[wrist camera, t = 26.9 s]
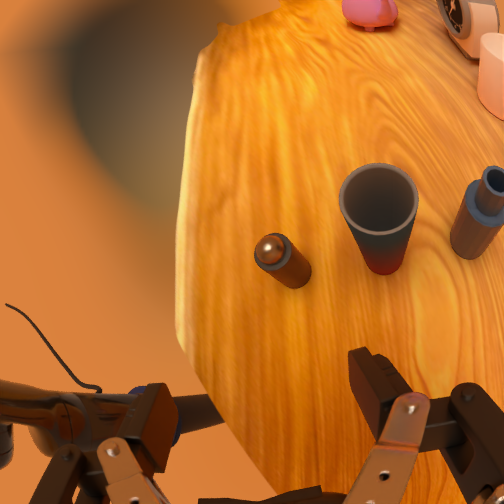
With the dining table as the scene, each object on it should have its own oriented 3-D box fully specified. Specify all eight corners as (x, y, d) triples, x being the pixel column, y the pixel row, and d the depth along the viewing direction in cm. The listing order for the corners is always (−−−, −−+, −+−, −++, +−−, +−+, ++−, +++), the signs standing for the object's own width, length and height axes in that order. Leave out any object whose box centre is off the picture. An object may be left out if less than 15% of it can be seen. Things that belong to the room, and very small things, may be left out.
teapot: (420, 33, 43) (413, -11, 33) (372, 45, 47) (359, -1, 37) (377, 7, 52) (365, -29, 42) (334, 18, 57) (319, -18, 46)
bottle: (455, 263, 30) (485, 212, 18) (445, 224, 32) (464, 159, 20) (490, 255, 28) (529, 202, 16) (478, 217, 30) (507, 153, 18)
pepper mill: (281, 290, 39) (246, 268, 30) (279, 260, 41) (245, 230, 32) (312, 285, 37) (286, 261, 29) (309, 254, 39) (283, 221, 30)
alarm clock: (437, 28, 42) (425, -42, 25) (466, 30, 38) (458, -39, 21) (467, 68, 36) (464, -18, 19) (500, 70, 32) (503, -11, 15)
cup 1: (394, 291, 32) (398, 249, 20) (349, 267, 36) (324, 214, 23) (417, 244, 33) (429, 179, 20) (373, 223, 36) (359, 153, 24)
